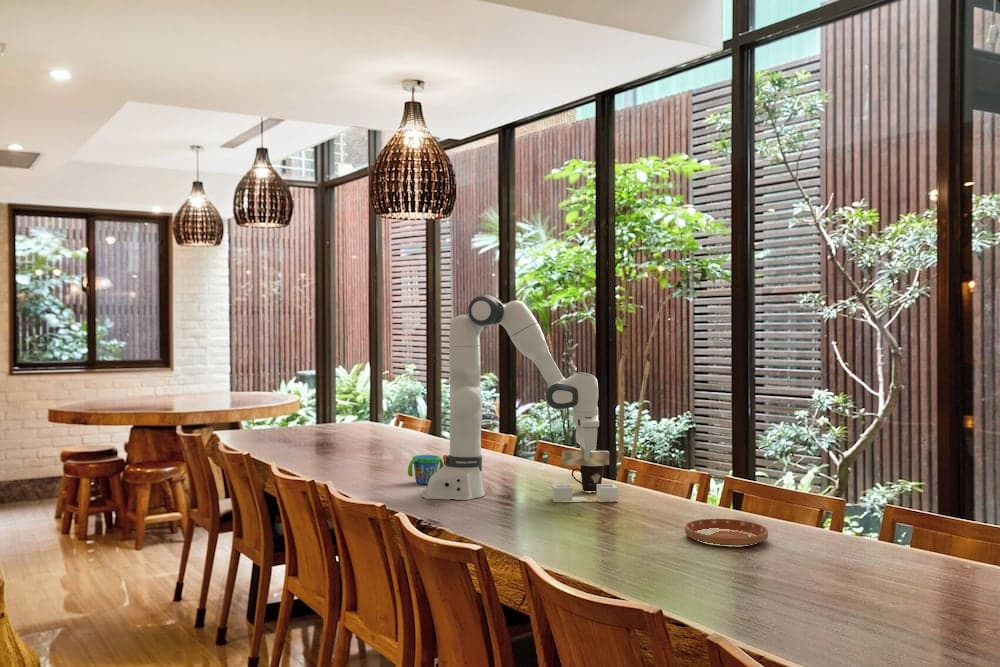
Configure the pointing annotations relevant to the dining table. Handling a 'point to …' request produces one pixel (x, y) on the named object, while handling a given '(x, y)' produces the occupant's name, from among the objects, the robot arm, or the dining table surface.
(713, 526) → the saucer
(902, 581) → the dining table surface
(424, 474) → the snack cup
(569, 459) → the slat
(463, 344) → the robot arm
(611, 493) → the endcaps
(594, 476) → the coffee mug
